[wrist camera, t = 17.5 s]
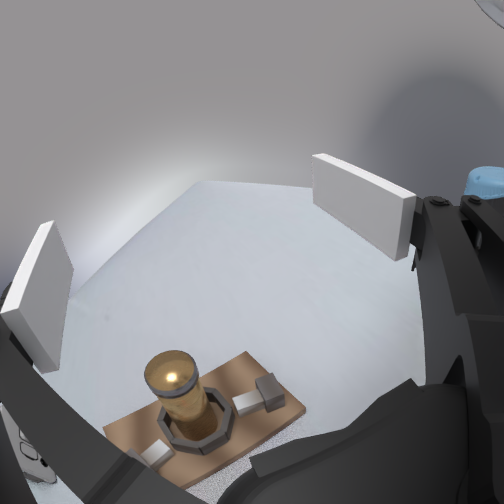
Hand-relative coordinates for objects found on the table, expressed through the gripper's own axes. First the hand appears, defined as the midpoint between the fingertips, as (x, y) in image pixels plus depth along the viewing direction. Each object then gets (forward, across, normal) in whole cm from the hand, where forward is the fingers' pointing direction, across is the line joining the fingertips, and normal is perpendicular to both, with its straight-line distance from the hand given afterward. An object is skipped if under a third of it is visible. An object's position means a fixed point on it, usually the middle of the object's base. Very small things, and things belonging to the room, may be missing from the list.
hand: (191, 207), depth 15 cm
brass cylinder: (+7, -5, -30) cm, 32 cm away
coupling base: (+7, -5, -32) cm, 33 cm away
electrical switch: (+7, -30, -32) cm, 45 cm away
